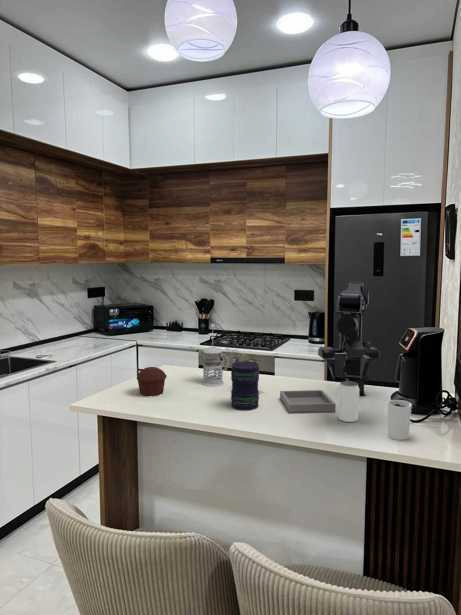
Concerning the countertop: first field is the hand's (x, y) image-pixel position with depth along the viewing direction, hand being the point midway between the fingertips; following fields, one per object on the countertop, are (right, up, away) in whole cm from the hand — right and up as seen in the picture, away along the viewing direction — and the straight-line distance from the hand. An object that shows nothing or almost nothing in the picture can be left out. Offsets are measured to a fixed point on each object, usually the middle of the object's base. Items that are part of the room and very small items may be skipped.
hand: (347, 378), depth 150 cm
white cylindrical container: (+12, -15, -13) cm, 23 cm away
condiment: (-30, -10, +32) cm, 45 cm away
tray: (-11, -12, +15) cm, 22 cm away
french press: (-44, -9, +43) cm, 63 cm away
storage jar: (-33, -12, +14) cm, 38 cm away
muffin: (-68, -10, +29) cm, 75 cm away
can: (0, -14, +1) cm, 14 cm away
